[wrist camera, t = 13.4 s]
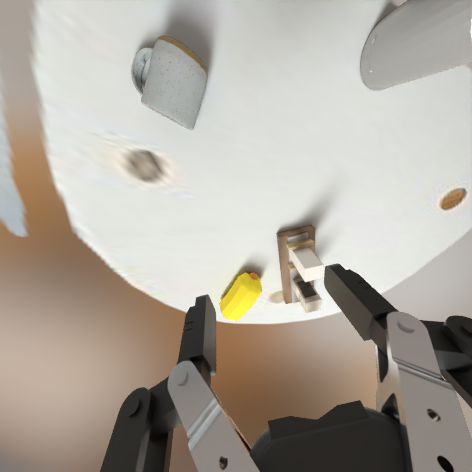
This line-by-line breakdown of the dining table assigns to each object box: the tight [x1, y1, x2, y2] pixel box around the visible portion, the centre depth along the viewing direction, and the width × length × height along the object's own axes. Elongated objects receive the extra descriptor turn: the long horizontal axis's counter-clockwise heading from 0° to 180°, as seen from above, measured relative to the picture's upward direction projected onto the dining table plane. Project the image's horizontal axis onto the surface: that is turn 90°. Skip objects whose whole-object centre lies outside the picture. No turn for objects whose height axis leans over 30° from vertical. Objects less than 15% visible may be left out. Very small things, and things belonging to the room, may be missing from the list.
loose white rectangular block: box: [290, 246, 324, 282], centre depth 40 cm, size 4×4×8 cm
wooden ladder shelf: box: [277, 225, 322, 313], centre depth 44 cm, size 9×26×11 cm, turn 12°
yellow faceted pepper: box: [220, 272, 262, 321], centre depth 49 cm, size 18×7×8 cm
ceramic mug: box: [131, 36, 207, 130], centre depth 23 cm, size 11×8×8 cm
